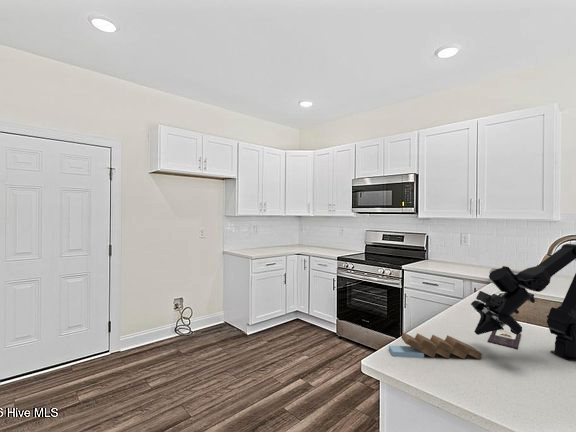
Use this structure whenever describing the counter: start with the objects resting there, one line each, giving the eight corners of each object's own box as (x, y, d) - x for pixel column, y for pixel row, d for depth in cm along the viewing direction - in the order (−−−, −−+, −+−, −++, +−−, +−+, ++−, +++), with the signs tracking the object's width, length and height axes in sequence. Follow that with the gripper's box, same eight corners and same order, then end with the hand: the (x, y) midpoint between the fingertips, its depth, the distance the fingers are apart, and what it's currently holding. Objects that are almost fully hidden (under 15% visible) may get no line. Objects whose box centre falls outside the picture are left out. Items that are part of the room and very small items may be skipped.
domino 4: (458, 347, 106) (432, 334, 106) (467, 353, 101) (439, 340, 101) (456, 352, 106) (430, 339, 106) (464, 359, 101) (437, 346, 101)
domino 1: (418, 346, 106) (388, 345, 107) (424, 353, 101) (392, 351, 102) (418, 352, 106) (388, 351, 107) (423, 359, 101) (392, 357, 102)
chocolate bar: (487, 340, 116) (494, 327, 129) (487, 343, 116) (494, 330, 129) (517, 348, 110) (521, 333, 124) (517, 350, 110) (521, 336, 124)
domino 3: (443, 346, 106) (417, 333, 106) (450, 353, 101) (423, 339, 101) (441, 351, 106) (414, 338, 106) (447, 358, 101) (420, 344, 101)
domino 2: (430, 346, 106) (403, 332, 107) (436, 352, 101) (408, 338, 102) (427, 351, 106) (401, 337, 107) (433, 358, 101) (405, 343, 102)
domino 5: (473, 347, 106) (447, 335, 106) (482, 354, 101) (455, 341, 101) (471, 352, 106) (444, 340, 106) (480, 359, 101) (452, 346, 101)
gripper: (477, 277, 113) (445, 307, 113) (513, 290, 94) (475, 326, 94) (498, 300, 113) (466, 329, 113) (539, 317, 94) (501, 352, 94)
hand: (475, 333), depth 104 cm, fingers closed
